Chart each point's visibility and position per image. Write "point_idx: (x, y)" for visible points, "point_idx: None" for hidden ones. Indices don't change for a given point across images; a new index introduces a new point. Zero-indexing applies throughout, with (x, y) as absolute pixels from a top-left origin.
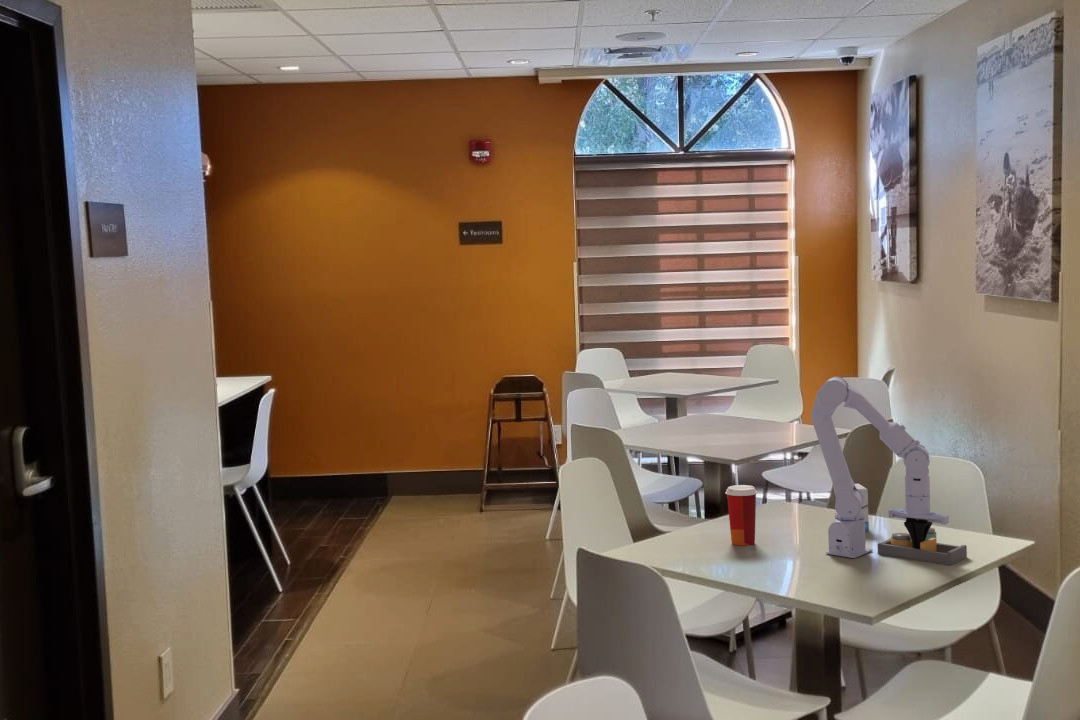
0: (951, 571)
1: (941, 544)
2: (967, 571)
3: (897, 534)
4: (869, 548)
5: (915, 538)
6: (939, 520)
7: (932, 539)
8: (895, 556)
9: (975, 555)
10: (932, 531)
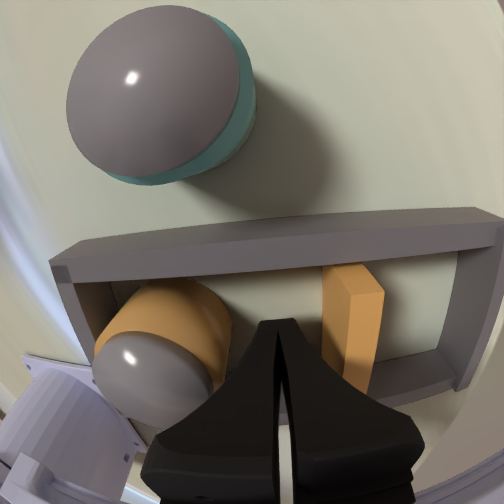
0: (449, 396)
1: (396, 253)
2: (484, 365)
3: (126, 393)
4: (84, 371)
5: (278, 417)
6: (492, 479)
7: (372, 342)
8: None
9: (484, 144)
10: (236, 94)
